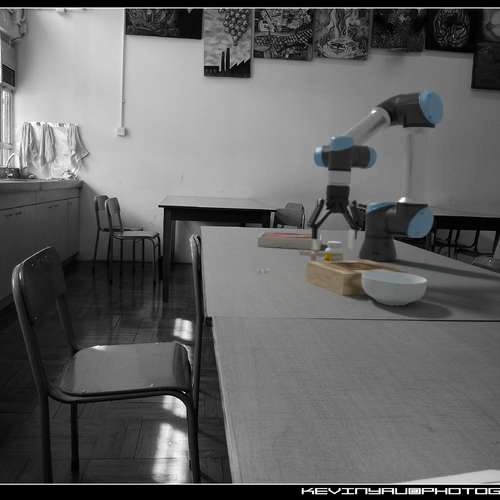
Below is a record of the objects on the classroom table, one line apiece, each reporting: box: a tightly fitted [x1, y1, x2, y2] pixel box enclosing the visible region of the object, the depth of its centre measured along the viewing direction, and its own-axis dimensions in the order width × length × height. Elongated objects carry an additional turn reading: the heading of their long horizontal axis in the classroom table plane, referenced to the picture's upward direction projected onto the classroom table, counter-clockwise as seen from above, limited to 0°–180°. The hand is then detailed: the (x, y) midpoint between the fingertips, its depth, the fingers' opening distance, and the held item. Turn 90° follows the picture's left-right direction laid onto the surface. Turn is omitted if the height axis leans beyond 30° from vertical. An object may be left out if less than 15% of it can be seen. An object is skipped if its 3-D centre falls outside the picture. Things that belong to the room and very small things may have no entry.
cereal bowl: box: [361, 271, 428, 307], centre depth 136 cm, size 17×17×7 cm
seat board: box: [306, 259, 408, 296], centre depth 155 cm, size 22×20×6 cm
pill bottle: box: [323, 240, 344, 261], centre depth 171 cm, size 6×6×11 cm
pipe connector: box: [299, 240, 325, 262], centre depth 183 cm, size 10×10×10 cm
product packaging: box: [257, 231, 323, 251], centre depth 242 cm, size 22×28×5 cm
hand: (333, 249), depth 171 cm, fingers open, 13 cm apart
